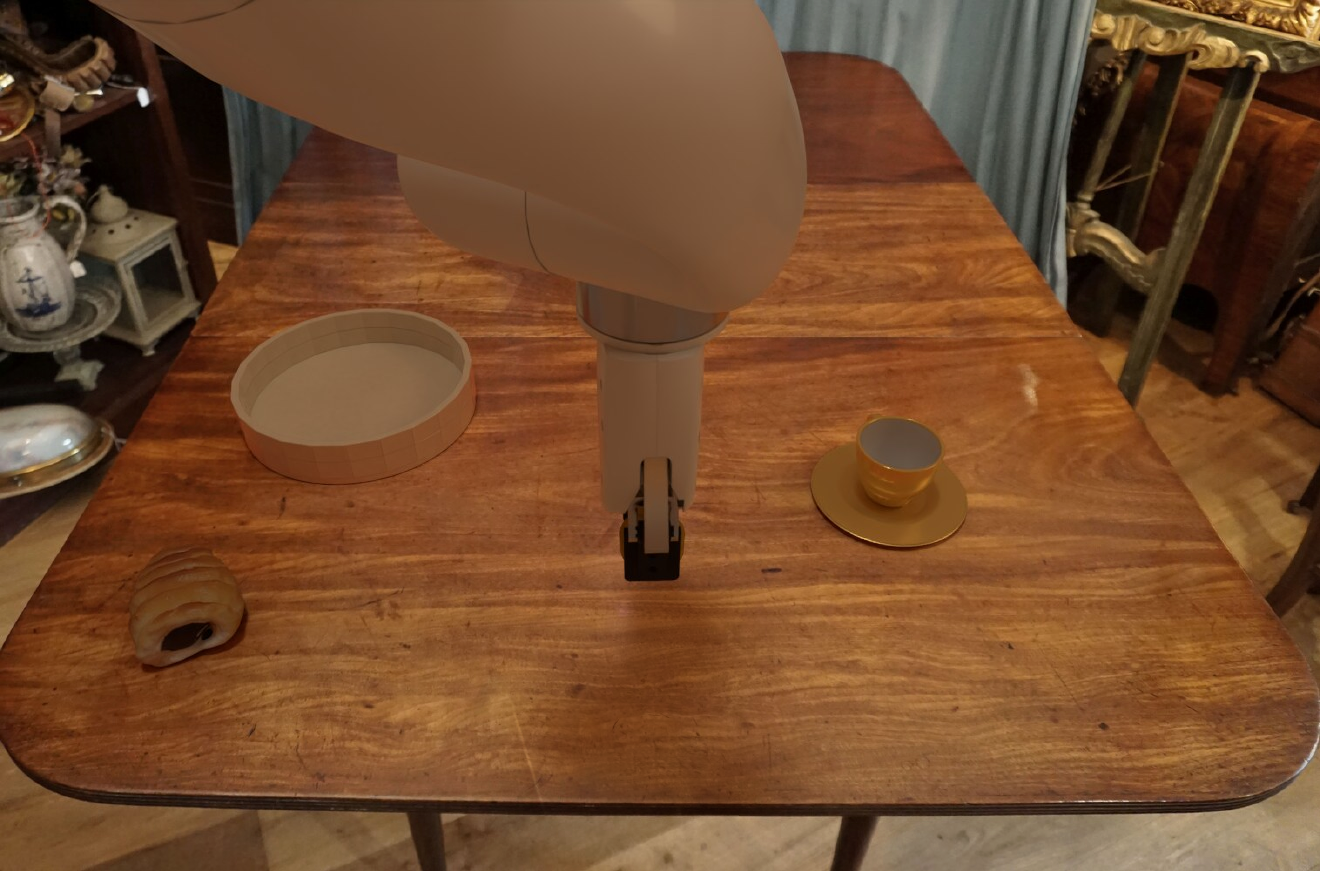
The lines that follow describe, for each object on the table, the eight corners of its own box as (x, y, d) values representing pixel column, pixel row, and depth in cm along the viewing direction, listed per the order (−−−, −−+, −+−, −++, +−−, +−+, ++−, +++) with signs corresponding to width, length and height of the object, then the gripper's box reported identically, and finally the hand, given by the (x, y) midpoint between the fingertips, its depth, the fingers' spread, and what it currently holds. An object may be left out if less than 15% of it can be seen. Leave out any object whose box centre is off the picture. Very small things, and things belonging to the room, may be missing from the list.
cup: (994, 538, 69) (1013, 484, 66) (842, 561, 67) (853, 507, 64) (926, 436, 78) (939, 384, 75) (790, 454, 76) (797, 402, 73)
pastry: (130, 578, 65) (111, 540, 63) (233, 547, 68) (218, 509, 65) (142, 679, 59) (122, 641, 56) (255, 640, 61) (239, 602, 59)
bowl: (375, 515, 70) (366, 476, 68) (192, 437, 77) (177, 398, 74) (519, 381, 83) (515, 344, 81) (352, 324, 90) (344, 288, 87)
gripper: (578, 205, 51) (589, 457, 63) (570, 392, 38) (586, 664, 50) (715, 204, 51) (700, 455, 63) (753, 389, 38) (725, 660, 50)
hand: (650, 545), depth 56 cm, fingers closed on chess piece, 4 cm apart
